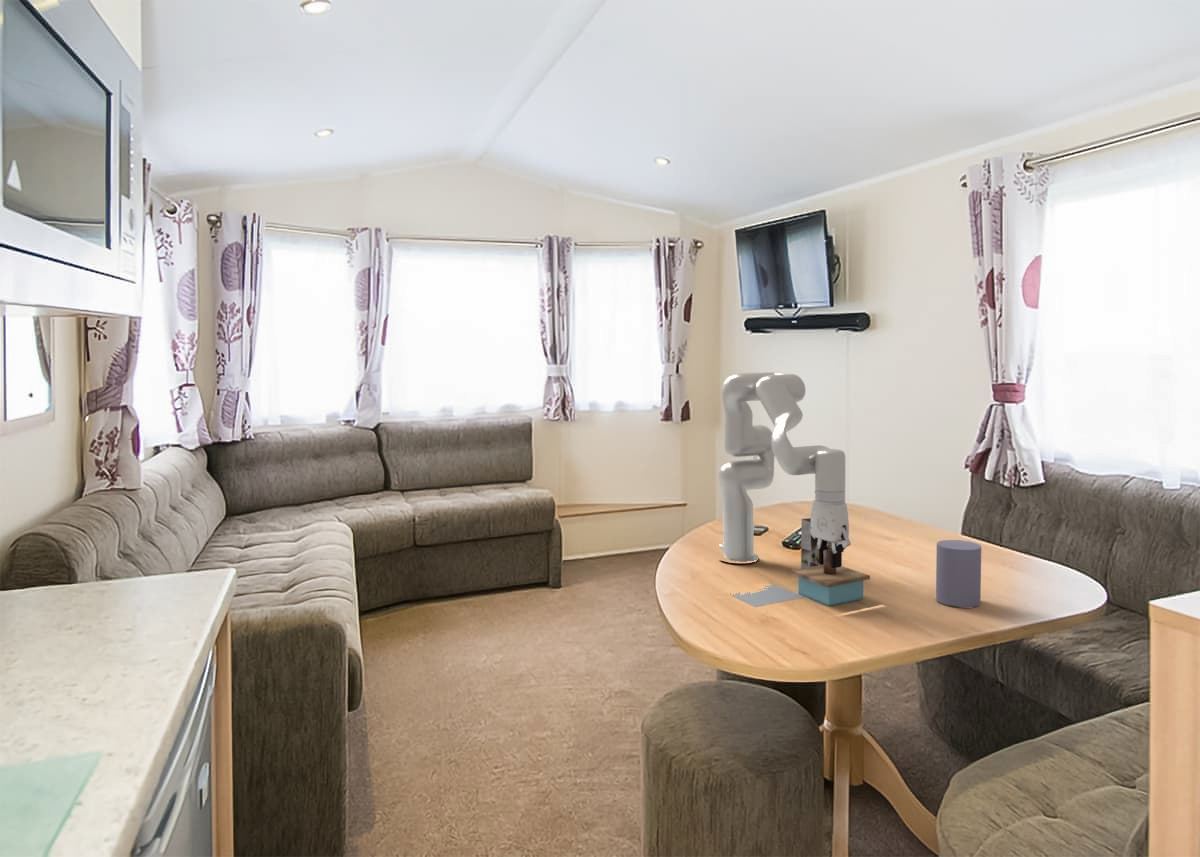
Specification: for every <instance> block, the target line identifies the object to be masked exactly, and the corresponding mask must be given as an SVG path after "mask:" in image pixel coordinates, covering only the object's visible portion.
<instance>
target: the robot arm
mask: <svg viewBox="0 0 1200 857" xmlns="http://www.w3.org/2000/svg"><path fill="white" fill-rule="evenodd" d="M805 396H806V385H805V383H804V380H803V379H802V378H801V377H800V376H798V375H797V374H794V373H784V372H783V373H782V372H743V373H735V374H731V375H730V376H728V377H727V378H726V379H725V380H724V381H723V384H722V387H721V399H722V404H723V408H724V410H723V411H724V448H725V449H724V450H725V452H726V454H727V455H728V456H730V457H733V458H743V457H745V458H746V457H753V459H744V460H743V459H742V460H732V461H729V462H726V463H724V464H723V465H722V466H721V467H720V469H719V472H718V479H719V484H720V489H721V497H722V498H721V499H722V500H721V501H722V543H720V544H719V545H718V547H719V549H722V552H721V553H723V555H724V557H725V558H728V559H729V560H730V561H735V562H736V561H739V562H747V561H754V560H757V559H758V558H759V559H760V556H759V555H758V554H756V553H754V550H755V548H754V546H755V545H754V543H755V542H754V538H755V537H754V534H755V533H754V531H755V530H754V529H755V528H754V526H755V525H754V503H753V501H752V499H751V498H750V496H749V495H748V493H747V491H750V490H752V491H753V490H762V489H766V488H768V487H770V486H771V485H772V484H773V481H774V478H775V477H774V475H775V459H776V461H777V463H778V464H779V466H780V468H781V469H782V470H783V471H784V473H786V474H788V475H790V476H802V475H803V476H804V475H814V479H815V480H814V484H815V486H814V496H815V498H814V499H813V502H812V505H811V506H812V507H811V510H810V511H811V513H810V518H811V523H810V533H811V535H812V537H813V538H814V539H815V541H816V543H817V548H818V549H819V564H824V549H830V548H827V547H828V542H831V543H832V551H833V553H831V568H838V567H841V566H843V565H842V564H843V563H842V562H843V557H842V556H843V553H844V551H845V549H846V548H848V547H849V546H851V544H852V543H851V541H850V536H849V535H850V534H849V533H850V522H849V521H850V520H849V514H848V513H849V512H848V506H847V503H846V453H845V451H843V450H842V449H836V448H829V447H828V446H825V445H818V444H817V445H806V446H805V445H804V446H793V444H792V443H791V442H790V440H789V438H788V436H787V432H789V431H791V430H793V429H794V428H796V427H797V426H798V425H799V424H800V423H801V422H802V419H803V417H804V415H803V411H802V410H801V408H800V406H799V405H798V403H800V402H801V401H802V400H803V399H804V398H805ZM754 401H760V403H761V405H762V406H763V408H764V411H765V412H766V414H767V415H768V417H769V420H771V423H772V424H773V426H774V427H773V429H772V430H771V429H770V428H769V427H768V426H767V425H761V424H757V425H753V416H754V415H753V411H752V408H751V406H750V404H749V403H748V402H754ZM836 543H838V546H836Z"/></svg>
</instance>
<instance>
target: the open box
mask: <svg viewBox="0 0 1200 857" xmlns="http://www.w3.org/2000/svg"><path fill="white" fill-rule="evenodd" d="M797 580H798V581H797V582H798V584H797V586H798V591H797V592H798V593H797V594H799V595H801V596H804V597H803V598H807V599H809V600H812V601H815V602H817V603H819V604H820V605H821V604H822V605H824V606H826V607H834V606H837V605H841V604H847V603H851V602H856V601H857V602H858V601H861V600H864V580H863V581H858V582H853V583H848V584H843V585H838V586H833V587H825V586H822V585H820V584H817V583H814V582H812V581H809V580H806V579H804V578H801V577H798V576H797Z"/></svg>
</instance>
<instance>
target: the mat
mask: <svg viewBox="0 0 1200 857" xmlns="http://www.w3.org/2000/svg"><path fill="white" fill-rule="evenodd" d="M769 586H771V587H769ZM769 586H765V587H768V588H763V589H766V590H764V591H763V590H762V591H760V592H757V593H756V592H755V593H752V595H751V593H750V592H749V593H748V592H747V594H746V593H745V594H744V595H743V594H742V595H741V594H740V592H739V593H738V594H737V593H736V594H735V595H734V594H733V595H732V596H731V593H730V595H729V596H731V597H732V598H735V599H737V600H739V601H741V602H744V603H746V604H747V605H750V606H752V607H754V608H756V607H757V608H758V607H763V606H767V605H773V604H777V603H782V602H787V601H788V602H789V601H793V600H796V599H797V600H799V599H803V598H805V597H804V596H802V595H799V594H798V593H797V592H793V591H792V590H788V589H786V588H784V587H781V586H779V585H776V584H775V583H772V585H769ZM767 589H768V590H767ZM759 590H761V589H759ZM740 595H741V596H740Z"/></svg>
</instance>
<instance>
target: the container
mask: <svg viewBox="0 0 1200 857" xmlns="http://www.w3.org/2000/svg"><path fill="white" fill-rule="evenodd" d="M935 561H936V566H935V567H936V569H935V572H936V573H935V574H936V575H935V577H936V578H935V585H936V586H935V589H936V590H935V599H936V601H937V602H938V603H940V604H942V605H944V604H945V605H944V606H947V605H948V607H951V606H952V608H957V607H973V608H976V607H978V606H980V605H981V597H982V596H981V590H982V589H981V587H982V586H981V584H982V545H981V544H979V543H977V542H974V541H968V540H959V539H958V540H957V539H944V540H940V541H937V542H936V560H935ZM975 606H976V607H975Z"/></svg>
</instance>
